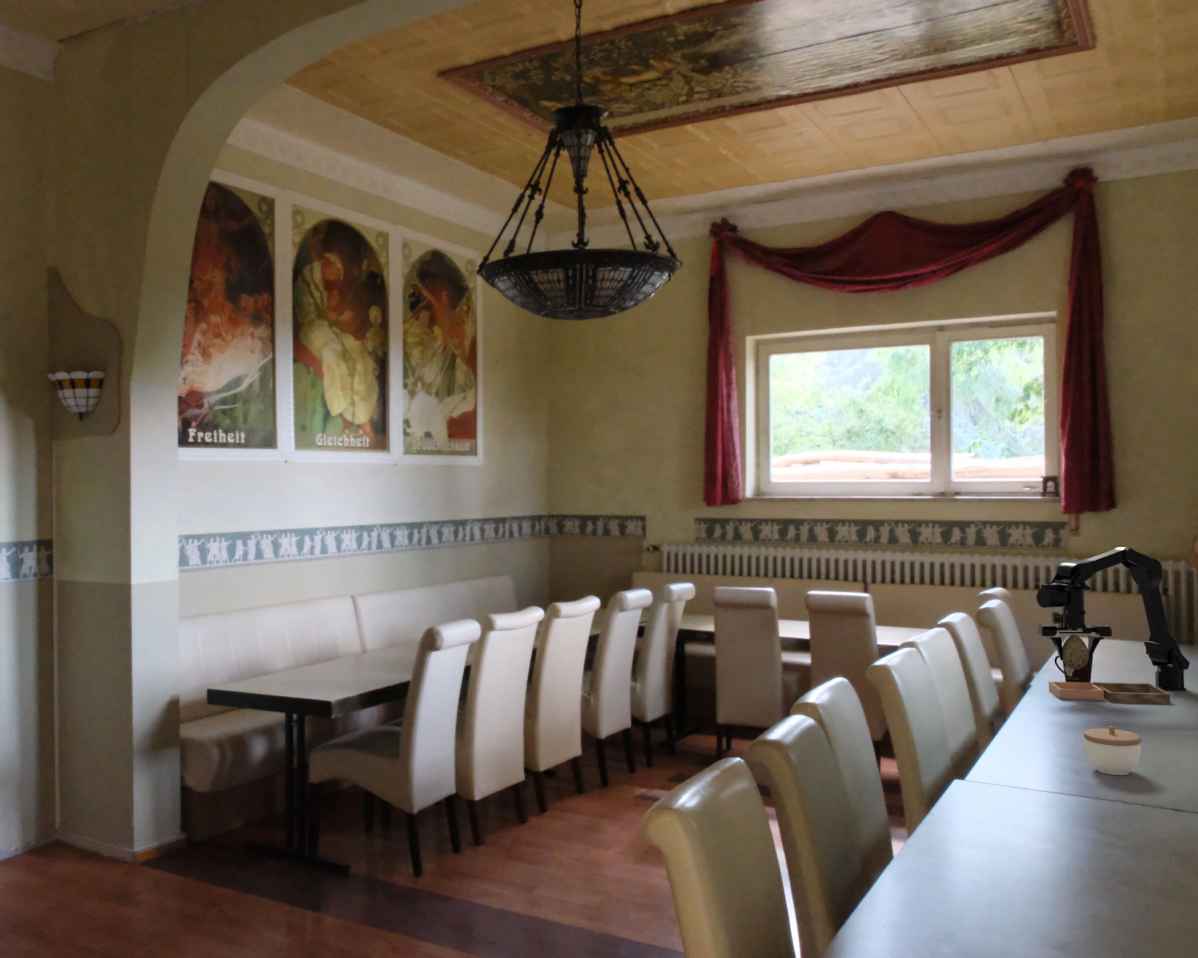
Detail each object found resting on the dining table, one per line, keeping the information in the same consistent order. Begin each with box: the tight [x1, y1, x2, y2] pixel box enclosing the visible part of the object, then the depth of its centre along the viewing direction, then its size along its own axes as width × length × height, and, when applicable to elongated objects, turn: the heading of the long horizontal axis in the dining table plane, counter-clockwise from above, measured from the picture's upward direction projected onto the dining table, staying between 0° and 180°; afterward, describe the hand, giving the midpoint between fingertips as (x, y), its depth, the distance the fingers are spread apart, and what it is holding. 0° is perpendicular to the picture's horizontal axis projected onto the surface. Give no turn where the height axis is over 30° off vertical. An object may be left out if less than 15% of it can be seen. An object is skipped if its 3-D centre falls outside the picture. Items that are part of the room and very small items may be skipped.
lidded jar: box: [1083, 725, 1142, 776], centre depth 205 cm, size 11×11×9 cm
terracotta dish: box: [1048, 681, 1105, 701], centre depth 281 cm, size 12×12×3 cm
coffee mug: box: [1054, 655, 1094, 683], centre depth 294 cm, size 12×9×10 cm
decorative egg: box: [1062, 633, 1089, 669], centre depth 281 cm, size 7×7×10 cm
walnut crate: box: [1091, 681, 1171, 704], centre depth 278 cm, size 16×16×2 cm
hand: (1075, 660), depth 281 cm, fingers closed on decorative egg, 7 cm apart
